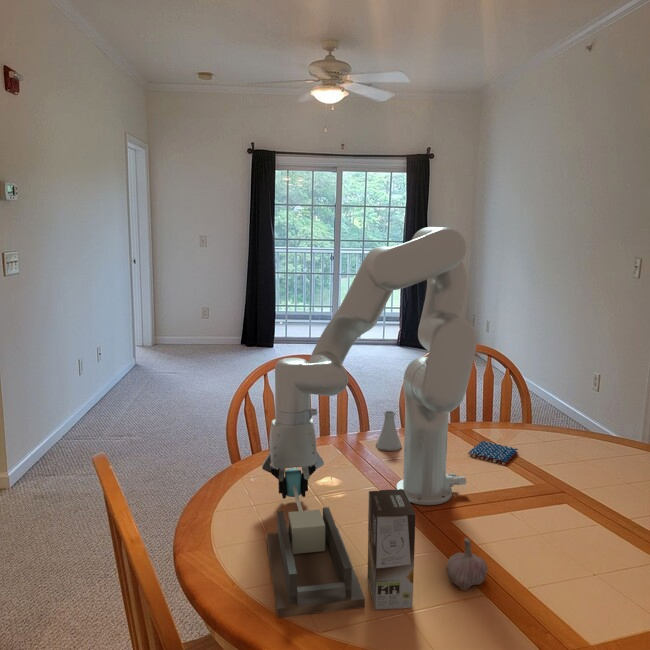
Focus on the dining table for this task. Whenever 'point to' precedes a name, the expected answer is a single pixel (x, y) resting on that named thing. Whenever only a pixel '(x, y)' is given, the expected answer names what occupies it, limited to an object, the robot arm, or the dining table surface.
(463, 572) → the garlic bulb
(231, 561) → the dining table surface
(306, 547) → the cube with teal knob
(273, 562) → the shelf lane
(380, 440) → the flask
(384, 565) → the coffee box
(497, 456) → the woven mat
